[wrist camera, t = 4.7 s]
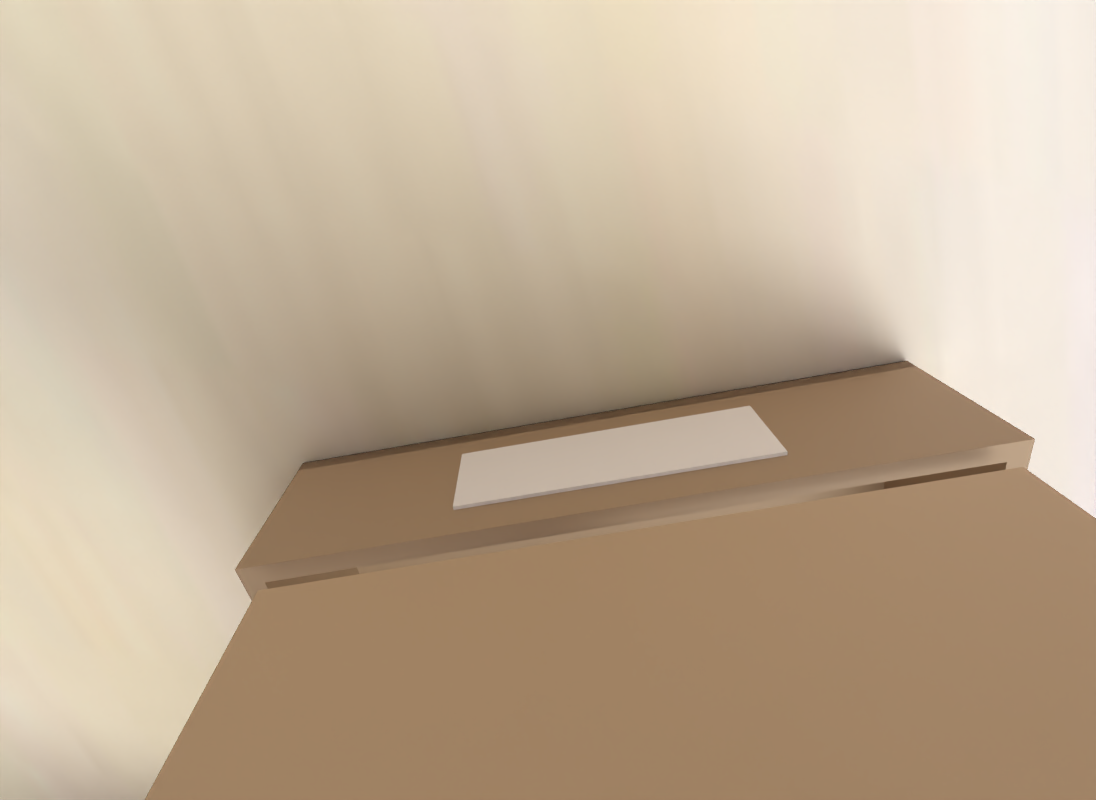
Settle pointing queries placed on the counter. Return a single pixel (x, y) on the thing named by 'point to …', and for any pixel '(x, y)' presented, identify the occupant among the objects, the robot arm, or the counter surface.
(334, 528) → the carton
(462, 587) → the flap
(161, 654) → the counter surface
